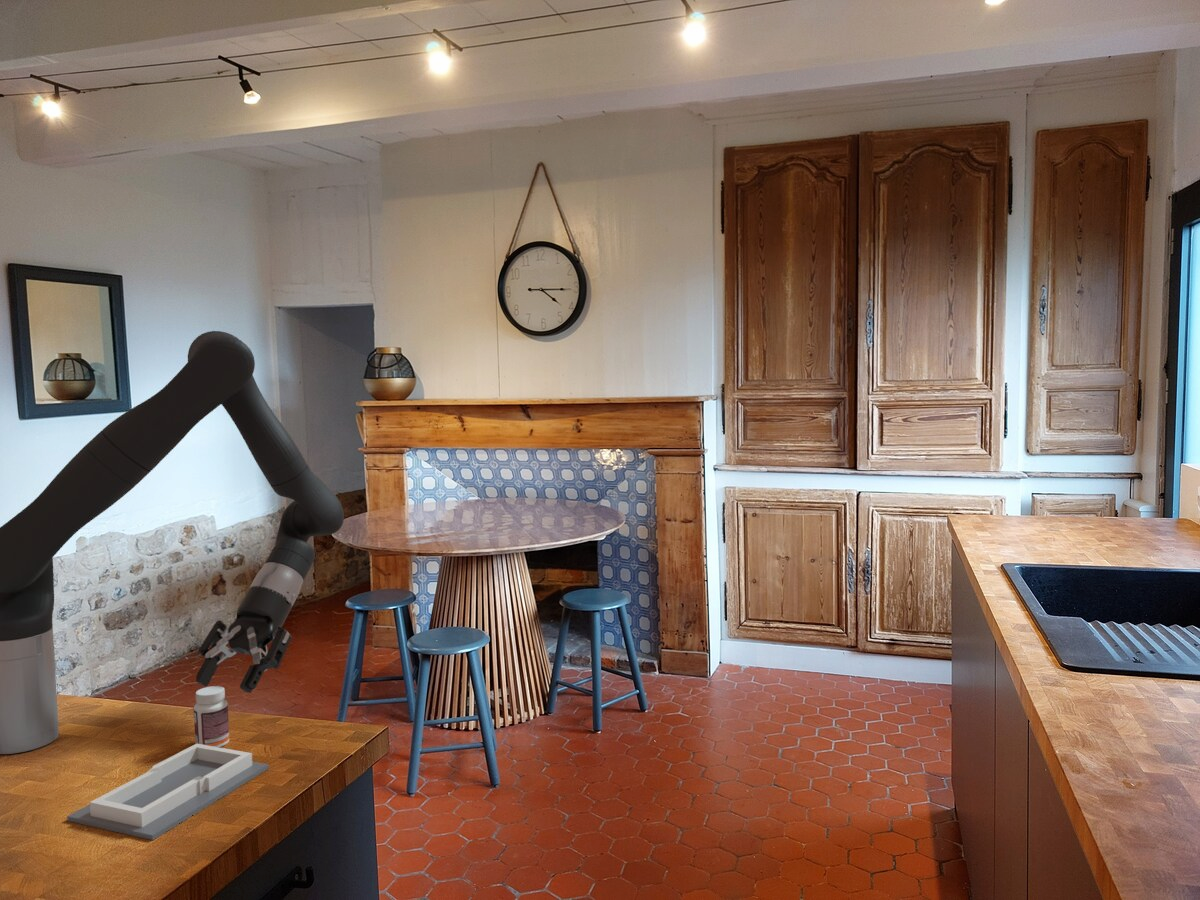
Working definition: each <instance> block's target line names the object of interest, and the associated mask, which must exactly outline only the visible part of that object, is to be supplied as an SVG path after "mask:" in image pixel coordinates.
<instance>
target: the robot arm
mask: <svg viewBox="0 0 1200 900" xmlns="http://www.w3.org/2000/svg"><path fill="white" fill-rule="evenodd" d="M255 363H256V362H255V357H254V354H253V352H252V350H251V348H250V347H249V346H248V345H247V344H246V342H243V340H241V339H239V338H238V337H237V336H235V335H233V334H231V333H229V332H226V331H221V330H211V331H206V332H204V333H201V334H199V335H197V337H196V338H194V339H193V341H192V343H190V346H189V349H188V352H187V363H185V364H184V366H183V367H182V368H181V369H180V370H179V372H178V373H176V374H175V375H174V377H172V378H171V380H170V381H169V382H168V383H167V384H166V385H165V386H164V387H162V389H160V390H159V391H158V392H156V393H155V394H154V395H152V396H151V397H149V398H148V399H146V400H144V401H142V402H140V403H139V404H137V405H136V406H133V408H130V409H129V410H127V411H126V412H124V413H123V414H121V415H119V416H118V417H116V418H115V419H114V420H112V421H111V422H110V423H109V424H108V425H106V426H105V427H103V428H102V430H100V431H99V432H98V433H97V434H96V435H95V436H94V437H93V438H92V439H90V440H89V441H88V442H87V443H86V444H85V445H84V446H83V447H82V448H81V449H80V450H79V451H78V453H76V454H75V455H74V456H73V457H72V458H71V459H70V460H69V461H68V462H67V464H66V465H65V466H63V468H61V470H60V471H59V472H58V473H57V474H56V476H55V477H54V478H53V479H52V480H51V481H50V483H48V485H47V486H46V487H45V488H44V490H43V491H42V492H40V494H39V495H38V496H37V497H36V498H35V499H34V500H33V501H32V502H30V503H29V504H28V505H27V506H26V507H24V508H23V509H22V510H21V511H20V512H18V513H17V514H16V515H14V516H13V517H12V518H11V519H9V520H8V521H7V522H5V523H4V524H3V525H2V526H0V755H11V754H18V753H19V754H20V753H24V752H25V753H26V752H29V751H33V750H36V749H39V748H42V747H44V746H47V745H49V744H50V743H53V742H54V741H56V739H58V737H59V736H60V727H59V726H60V725H59V708H58V706H59V705H58V692H57V691H58V690H57V689H58V688H57V678H56V677H57V675H56V673H57V672H56V659H55V658H56V657H55V645H54V644H55V643H54V640H55V639H54V627H53V626H54V625H53V615H54V607H55V581H54V557H55V555H56V554H58V552H59V551H60V549H62V548H63V547H64V546H65V544H66V543H67V542H68V541H69V540H70V539H71V538H72V537H73V536H74V535H75V534H77V532H79V531H80V530H81V529H82V528H83V527H85V526H86V525H87V524H88V523H90V522H92V521H93V520H94V519H95V518H97V517H98V516H99V515H101V514H102V513H104V512H106V511H107V510H108V509H109V508H110V507H112V506H113V505H115V504H116V503H117V502H118V501H120V500H121V499H122V498H123V497H124V496H126V495H127V494H128V493H130V491H132V490H133V489H134V488H135V487H136V486H137V485H138V484H139V483H140V482H141V481H142V480H144V478H146V477H147V476H148V475H149V474H150V473H151V472H152V471H153V470H154V469H155V468H156V467H157V466H158V465H159V464H160V463H161V461H163V460H164V459H165V458H166V457H167V456H168V455H169V454H170V452H172V451H173V450H174V449H175V448H176V447H177V446H178V444H180V442H181V441H183V439H184V438H185V437H186V436H187V435H188V433H190V431H191V430H192V429H193V428H194V427H195V426H196V425H197V424H199V422H201V421H202V420H203V419H204V418H206V417H207V416H208V415H209V414H211V413H212V412H213V411H214V410H216V409H217V408H218V407H219V406H220V405H221V406H222V407H223V408H224V410H225V411H226V413H227V414H228V416H229V417H230V419H231V420H232V422H233V424H234V425H235V426H236V428H237V430H238V432H239V433H240V436H241V437H242V439H243V441H244V443H245V445H246V447H247V448H248V450H249V452H250V454H251V455H252V457H253V459H254V461H255V463H256V465H257V466H258V468H259V469H260V471H261V472H262V474H263V476H264V477H265V479H266V481H267V482H268V484H269V485H270V487H271V488H272V490H273V491H274V493H275V494H277V495H278V496H280V497H283V498H288V499H291V500H293V501H291V503H290V504H288V505H287V506H286V508H285V510H284V511H283V513H282V515H281V519H280V522H279V527H278V530H277V534H276V538H275V543H274V546H273V548H272V550H271V552H270V553H269V555H268V557H267V558H266V561H264V564H263V566H262V567H261V569H260V570H259V571H258V572H257V574H256V575H255V577H254V579H253V581H252V583H251V584H250V586H249V588H248V589H247V592H246V593H245V595H244V597H243V598H242V600H241V602H240V604H239V605H238V608H237V609H236V619H235V620H234V621H233V622H232V623H230V624H226V623H224V622H223V621H222V620H220V619H219V620H217V621H216V622H215V623H214V624H213V626H212V627H211V630H210V631H209V633H208V634H207V636H206V637H205V639H204V640H203V642H202V644H201V645H200V646H199V649H198V651H197V652H198V653H199V655H201V656H202V657H203V658H204V661H203V663H202V665H201V666H200V668H199V670H198V672H197V673H196V677H195V678H196V679H195V681H196V683H197V684H199V686H202V687H209V684H210V682H211V680H212V678H214V675H215V673H216V671H217V669H218V667H219V664H221V663H222V662H223V661H225V660H226V659H228V658H232V657H233V656H235V655H236V654H238V655H244V654H246V655H248V656H251V657H252V662H253V664H250V665H249V667H248V669H247V671H246V673H245V675H244V676H243V679H242V680H241V683H240V685H239V688H240V690H242V691H243V692H244V693H248V694H251V693H252V691H253V690H255V688H257V686H258V684H259V682H260V680H261V678H262V676H263V673H264V672H266V671H267V670H268V669H274V670H276V669H278V668H279V667H280V666H281V664H282V661H283V659H284V657H285V654H286V653H287V652H286V651H287V650H288V647H289V645H290V643H291V641H292V638H293V636H292V634H290V632H289V631H288V630H287V629H285V628H284V627H283V626H284V623H285V621H286V620H287V617H288V616H289V614H290V611H291V610H292V608H293V605H294V604H295V602H296V601H297V598H298V596H299V595H300V592H301V589H302V586H303V583H304V581H305V579H306V578H307V576H308V574H309V572H310V569H311V568H312V565H313V563H314V561H315V558H316V552H315V551H316V550H314V548H313V547H312V545H311V544H309V543H308V541H309V539H310V538H311V537H321V536H323V537H325V536H330V535H333V534H335V533H337V532H339V531H340V529H341V528H342V526H343V524H344V522H345V521H344V520H345V519H344V518H345V512H344V508H343V505H342V504H341V501H340V500H339V497H337V495H336V494H335V493H334V492H333V491H332V490H331V489H330V488H329V487H328V486H327V485H326V483H324V482H323V480H322V479H320V478H319V476H318V475H316V474H315V473H314V472H313V471H312V470H311V469H310V466H309V465H308V463H307V461H306V459H305V458H304V456H303V454H302V453H301V451H300V449H299V447H298V445H296V443H295V441H294V440H293V438H292V436H291V435H290V434H289V432H288V431H287V430H286V428H285V427H284V425H283V424H282V422H281V421H280V420H279V419H278V417H277V416H276V414H275V413H274V411H273V410H272V409H271V407H270V406H269V403H268V402H267V401H266V399H265V398H264V395H263V394H262V392H261V390H260V388H259V386H258V384H257V381H256V379H255V377H254V371H255V366H256V364H255ZM228 644H229V647H228V646H227V645H228ZM269 644H271V645H270V646H269V647H268V645H269Z"/></svg>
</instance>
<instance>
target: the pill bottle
mask: <svg viewBox="0 0 1200 900" xmlns="http://www.w3.org/2000/svg"><path fill="white" fill-rule="evenodd" d="M225 697H226V692H225V687H223V686H220V685H213V686H205V687H202V688H200V689H198V690H196V692H195V702H196V703H195V704H194V706H193V721H194V723H193V724H194V740H195V742H194V743H195V744H202V745H208V746H214V747H219V748H223V746H226V745H228V743H229V741H230V725H229V723H230V722H229V718H230V717H229V702H228V701H227V700H226V698H225ZM195 744H194V745H195Z"/></svg>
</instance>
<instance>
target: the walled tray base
mask: <svg viewBox="0 0 1200 900" xmlns="http://www.w3.org/2000/svg"><path fill="white" fill-rule="evenodd" d="M269 766H270V764H267V763H264V762H257V761H253V753H252V752H247V751H242V750H235V749H232V748H231V749H230V748H224V747H214V746H208V745H202V744H193V745H191V746H189V747H187V748H185V749H183V750H182V751H179V752H178V753H176V754H174V755H172V756H170V757H167V758H166V759H164V760H162V761H160V762H157V763H155V765H153V766H151V767H150V769H149V770H147V772H145V773H143V774H141V775H139V776H137V777H136V778H134V779H131V780H130V781H128V782H126V783H124V784H122V785H120V786H118V787H116V788H114V789H112V790H110V791H108V792H107V793H105V794H103V795H101V796H99V797H97V798H96V799H93V800H91V801H89V804H87V805H86V806H84V807H82V808H80V809H78V810H76V811H74V812H73V813H70V814H69V815H66V817H67V821H68V822H71V823H76V824H81V825H84V826H88V827H93V828H98V829H100V830H101V829H102V830H106V831H111V832H115V833H120V834H122V835H123V834H124V835H127V836H133V837H138V838H141V839H146V840H149V841H154V840H156V839H157V838H159V837H160V836H162V835H164V834H165V833H167V832H168V830H169V831H171V830H172V829H173V828H176V827H177V826H178V825H180V824H182V823H183V822H185V821H186V820H188V819H189V817H190V818H192V817H193V816H194V815H196V814H198V813H200V812H201V811H202V810H204V809H206V808H207V807H209V806H211V805H213V804H214V803H215V802H217V801H218V799H219V800H220V799H222V798H224V797H225V796H227V795H228V794H230V793H232V792H234V791H235V790H237V789H238V788H241V786H243V785H244V784H246V783H248V782H249V781H251V780H253V779H254V778H257V777H258V776H259V775H261V774H262V773H265V771H268V770H269V769H270V767H269ZM223 796H224V797H223ZM192 815H193V816H192ZM181 822H182V823H181ZM179 823H180V824H179ZM176 825H177V826H176ZM166 831H167V832H166ZM163 833H164V834H163ZM155 838H156V839H155Z"/></svg>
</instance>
